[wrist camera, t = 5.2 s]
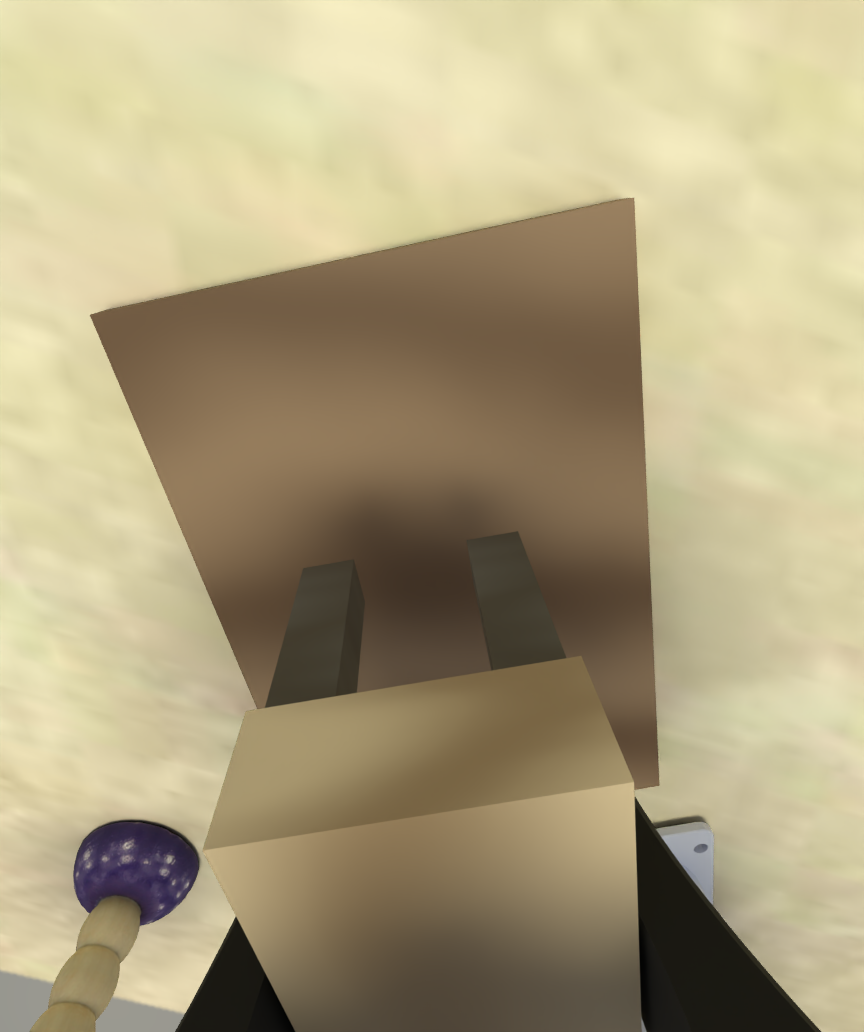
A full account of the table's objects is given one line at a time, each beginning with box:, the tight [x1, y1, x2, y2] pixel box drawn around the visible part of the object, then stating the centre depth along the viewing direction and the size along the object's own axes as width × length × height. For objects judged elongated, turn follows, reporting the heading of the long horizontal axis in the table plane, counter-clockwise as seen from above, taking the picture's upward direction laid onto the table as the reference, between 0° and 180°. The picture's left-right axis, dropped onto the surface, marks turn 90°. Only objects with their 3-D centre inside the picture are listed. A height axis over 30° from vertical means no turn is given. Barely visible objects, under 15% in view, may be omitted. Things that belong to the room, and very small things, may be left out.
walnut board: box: [90, 198, 659, 790], centre depth 17 cm, size 18×12×1 cm, turn 11°
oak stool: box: [203, 531, 642, 1032], centre depth 11 cm, size 4×8×6 cm, turn 10°
